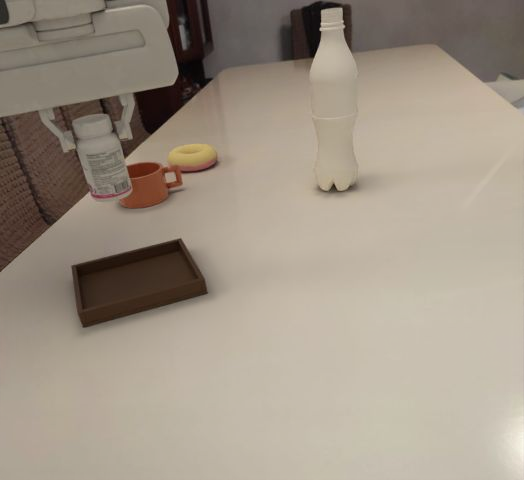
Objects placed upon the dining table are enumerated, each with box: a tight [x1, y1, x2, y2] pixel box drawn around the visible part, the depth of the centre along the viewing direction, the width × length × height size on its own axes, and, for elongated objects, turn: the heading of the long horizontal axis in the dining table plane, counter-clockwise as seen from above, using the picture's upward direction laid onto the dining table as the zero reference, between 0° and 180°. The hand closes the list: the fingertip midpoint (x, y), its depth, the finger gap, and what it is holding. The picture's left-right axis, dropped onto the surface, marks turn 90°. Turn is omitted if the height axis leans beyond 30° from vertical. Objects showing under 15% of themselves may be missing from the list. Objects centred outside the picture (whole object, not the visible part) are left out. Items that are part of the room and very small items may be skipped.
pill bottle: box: [71, 113, 132, 203], centre depth 59 cm, size 5×5×8 cm
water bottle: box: [308, 7, 359, 192], centre depth 81 cm, size 7×7×25 cm
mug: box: [119, 161, 184, 209], centre depth 93 cm, size 12×9×5 cm
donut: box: [167, 143, 218, 172], centre depth 105 cm, size 10×5×9 cm
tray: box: [71, 237, 208, 328], centre depth 68 cm, size 15×13×2 cm
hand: (97, 144), depth 58 cm, fingers closed on pill bottle, 5 cm apart
